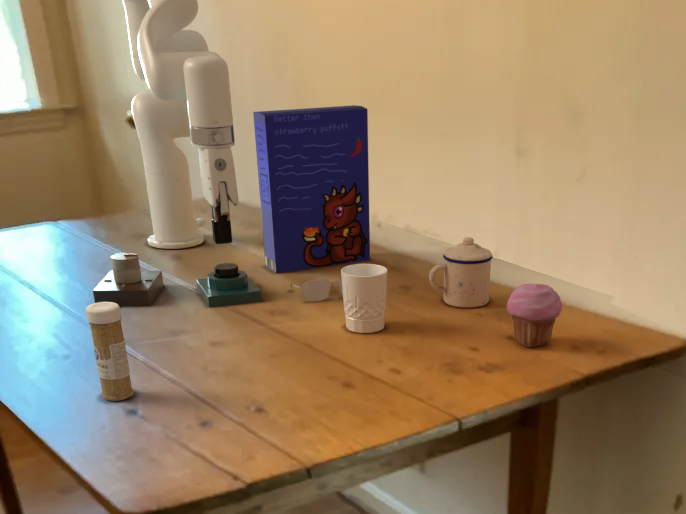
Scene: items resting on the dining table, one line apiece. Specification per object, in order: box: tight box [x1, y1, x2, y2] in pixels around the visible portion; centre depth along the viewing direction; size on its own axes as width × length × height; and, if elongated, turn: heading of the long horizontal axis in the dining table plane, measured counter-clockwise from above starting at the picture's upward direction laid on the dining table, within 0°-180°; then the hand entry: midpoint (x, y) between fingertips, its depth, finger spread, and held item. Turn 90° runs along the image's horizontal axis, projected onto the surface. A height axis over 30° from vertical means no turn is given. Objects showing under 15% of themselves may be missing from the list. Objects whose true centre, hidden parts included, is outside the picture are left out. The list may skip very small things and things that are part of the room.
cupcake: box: [506, 282, 563, 348], centre depth 149 cm, size 9×9×10 cm
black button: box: [213, 262, 239, 278], centre depth 171 cm, size 4×4×2 cm
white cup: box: [340, 263, 388, 334], centre depth 155 cm, size 8×8×10 cm
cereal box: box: [252, 104, 371, 274], centre depth 185 cm, size 22×6×30 cm, turn 119°
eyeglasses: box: [290, 277, 343, 303], centre depth 174 cm, size 14×8×4 cm, turn 112°
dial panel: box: [92, 270, 165, 307], centre depth 172 cm, size 13×10×3 cm
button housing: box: [195, 269, 263, 308], centre depth 172 cm, size 12×10×4 cm
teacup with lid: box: [428, 236, 493, 309], centre depth 167 cm, size 12×9×12 cm
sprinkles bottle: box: [85, 302, 134, 402], centre depth 129 cm, size 5×5×13 cm
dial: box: [110, 252, 142, 284], centre depth 170 cm, size 5×5×5 cm
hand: (223, 242), depth 169 cm, fingers closed
